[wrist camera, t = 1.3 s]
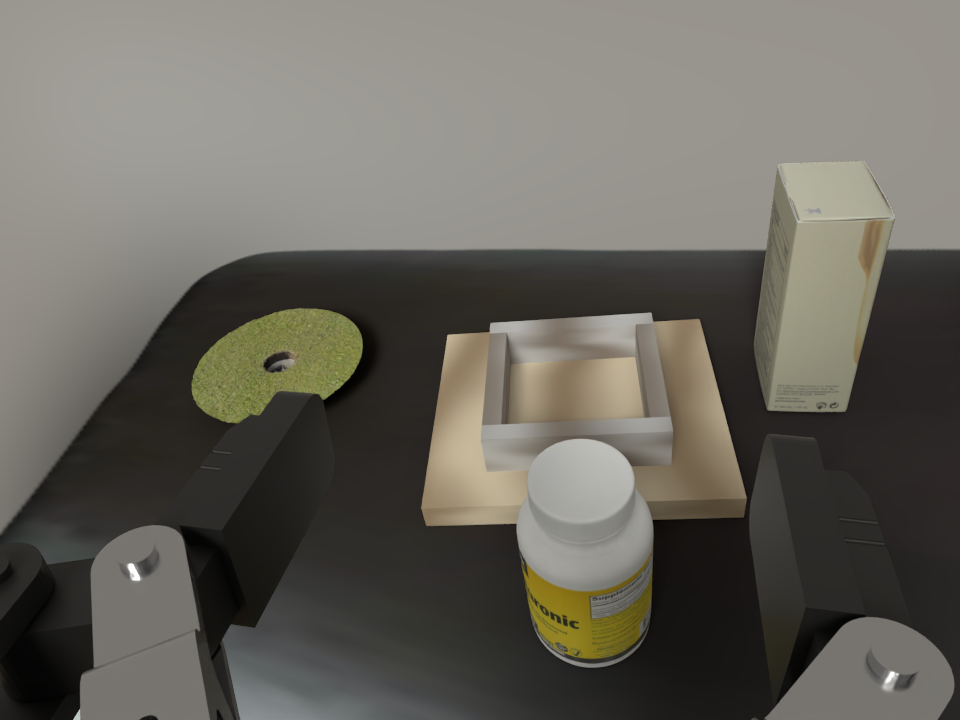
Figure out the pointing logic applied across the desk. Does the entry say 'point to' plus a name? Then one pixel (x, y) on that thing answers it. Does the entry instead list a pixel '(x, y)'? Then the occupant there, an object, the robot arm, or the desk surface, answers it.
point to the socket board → (580, 415)
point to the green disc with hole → (276, 362)
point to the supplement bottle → (586, 553)
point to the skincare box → (819, 283)
